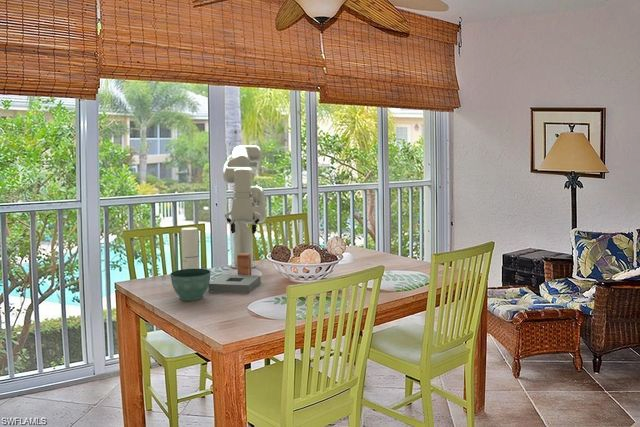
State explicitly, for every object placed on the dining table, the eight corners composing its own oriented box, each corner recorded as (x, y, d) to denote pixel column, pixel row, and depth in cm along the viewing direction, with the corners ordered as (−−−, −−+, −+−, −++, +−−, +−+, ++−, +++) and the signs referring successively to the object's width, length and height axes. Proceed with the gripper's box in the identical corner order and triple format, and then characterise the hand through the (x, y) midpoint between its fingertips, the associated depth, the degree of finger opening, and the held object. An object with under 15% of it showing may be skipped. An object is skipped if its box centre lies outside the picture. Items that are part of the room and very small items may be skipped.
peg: (241, 278, 286) (240, 253, 284) (251, 278, 285) (251, 253, 283) (237, 280, 281) (237, 255, 279) (248, 281, 280) (247, 255, 279)
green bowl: (163, 299, 251) (162, 273, 250) (194, 291, 263) (193, 266, 262) (187, 305, 241) (186, 278, 239) (219, 297, 253) (218, 271, 252)
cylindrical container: (195, 285, 273) (193, 230, 270) (180, 284, 274) (178, 229, 271) (201, 281, 280) (200, 227, 277) (187, 281, 281) (185, 227, 278)
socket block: (222, 281, 280) (222, 274, 279) (260, 283, 277) (260, 275, 276) (208, 291, 262) (208, 283, 262) (249, 293, 259) (248, 285, 259)
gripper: (263, 195, 280) (264, 232, 282) (227, 194, 283) (228, 231, 285) (258, 196, 273) (259, 234, 275) (221, 196, 276) (222, 233, 278)
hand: (243, 233), depth 280 cm, fingers open, 9 cm apart
